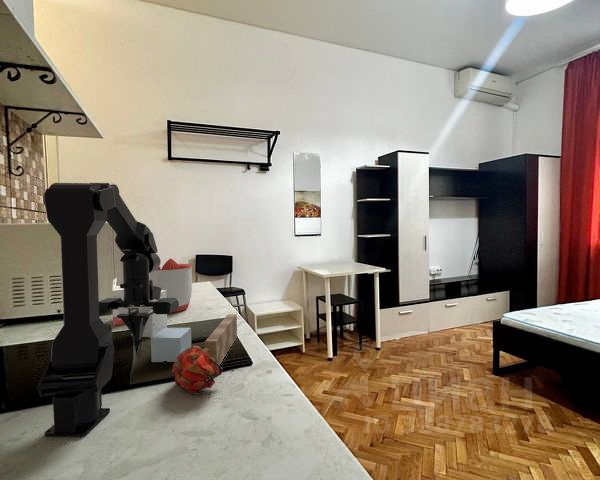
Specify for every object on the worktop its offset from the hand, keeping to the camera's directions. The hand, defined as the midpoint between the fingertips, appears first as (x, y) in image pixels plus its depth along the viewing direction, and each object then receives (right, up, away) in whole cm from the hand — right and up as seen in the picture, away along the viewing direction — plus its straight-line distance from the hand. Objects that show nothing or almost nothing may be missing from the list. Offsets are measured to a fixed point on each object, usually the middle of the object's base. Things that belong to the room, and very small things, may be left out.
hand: (138, 339), depth 75 cm
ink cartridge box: (-20, -3, +28) cm, 34 cm away
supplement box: (-5, -4, +16) cm, 17 cm away
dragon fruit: (+20, -5, -15) cm, 25 cm away
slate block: (+8, -4, 0) cm, 9 cm away
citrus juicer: (-10, -2, +42) cm, 44 cm away
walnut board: (+21, -4, +1) cm, 21 cm away
